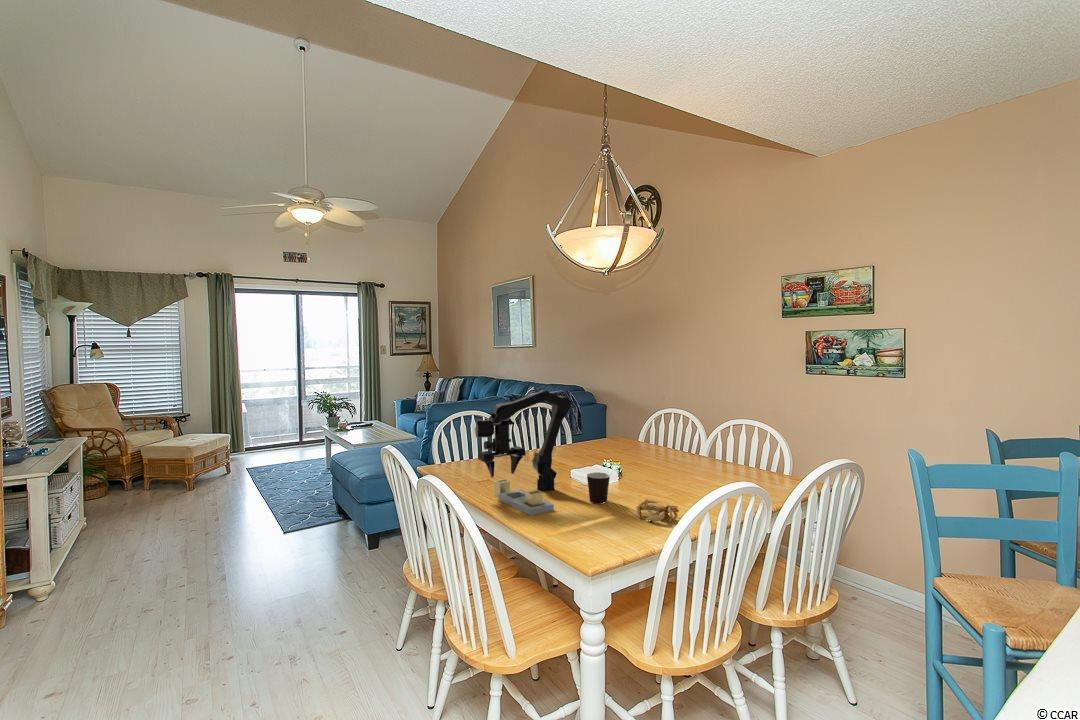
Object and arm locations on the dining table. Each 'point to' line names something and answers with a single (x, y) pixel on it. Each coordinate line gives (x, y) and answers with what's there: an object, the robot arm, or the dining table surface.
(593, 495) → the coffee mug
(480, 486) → the dining table surface
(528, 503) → the block
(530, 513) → the grey slotted plate
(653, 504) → the crab model
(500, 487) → the block
